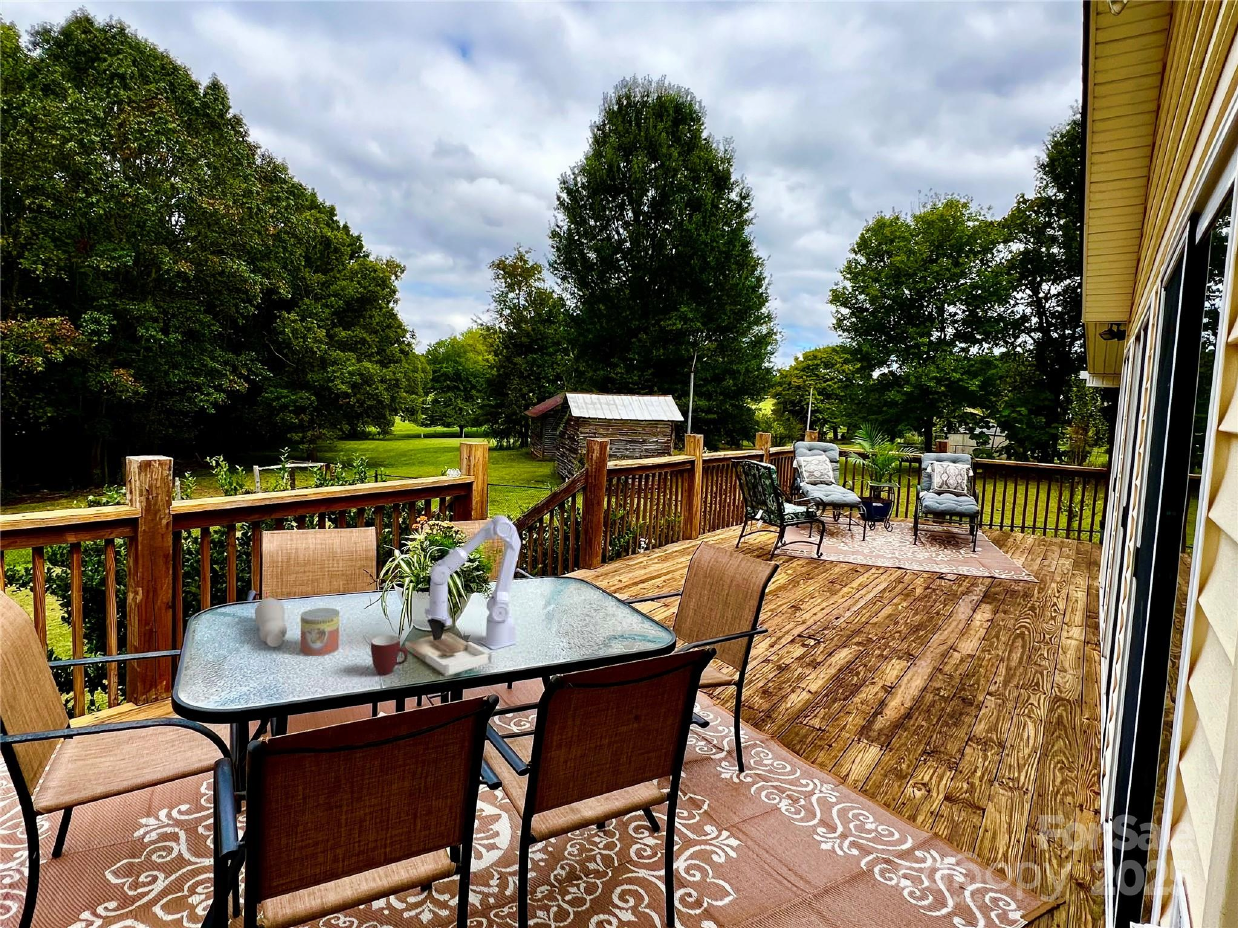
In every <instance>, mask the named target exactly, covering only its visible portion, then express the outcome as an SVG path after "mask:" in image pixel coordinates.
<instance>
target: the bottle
mask: <svg viewBox="0 0 1238 928" xmlns="http://www.w3.org/2000/svg"><path fill="white" fill-rule="evenodd" d="M254 618H255V620H256V622H257V625H258V628H259V637H260V640H261V641H263V642H264V643H267V645H268V646H269V647H273V648H275V647H279V646H280V645H282V643H283V640H284V638H285V637H286V635H287V633H288V627H287V625H286V623H285V622H286V621H285V607H284V604H283V602H282V601H281V600H278V599H276V598H273V597H267V598H266V597H265V598H264V599H261V600H260V602H259V603H258V604H257V606H256V607H255V608H254Z"/></svg>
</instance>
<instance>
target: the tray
mask: <svg viewBox="0 0 1238 928" xmlns="http://www.w3.org/2000/svg"><path fill="white" fill-rule="evenodd" d="M425 663H426V664H428V665H429V666H430V667H432V668H433V669H435V670H436V671H437V672H439V673H441V674H442V675H443V676H445V677H447V676H451V675H455V674H457V673H460V672H465V671H467V670H472V669H475V668H479V667H482V666H486V665H489V664H492V653H491V652H489V651H487V650H485V649H484V648H482V647H480V646H479V645H477V644H475V643H473V641H472V642H471V641H469V642H467V650H466V651H462V652H458V653H455V654H451V655H447V656H443V657H439V658H438V657H436V656H435V655H433V654H431V653H430V652H428V653H426V662H425Z"/></svg>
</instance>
